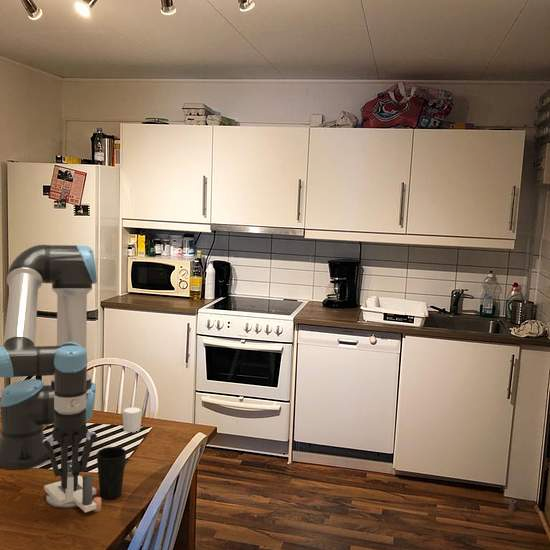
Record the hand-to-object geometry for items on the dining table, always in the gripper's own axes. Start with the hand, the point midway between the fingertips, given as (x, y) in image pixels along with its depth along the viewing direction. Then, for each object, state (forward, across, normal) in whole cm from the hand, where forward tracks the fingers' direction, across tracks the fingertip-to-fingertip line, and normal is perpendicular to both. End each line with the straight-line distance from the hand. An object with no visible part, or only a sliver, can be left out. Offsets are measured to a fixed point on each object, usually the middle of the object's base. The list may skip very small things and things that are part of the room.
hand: (69, 499), depth 151 cm
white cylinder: (+5, +30, +48) cm, 57 cm away
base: (+4, +2, +10) cm, 11 cm away
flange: (+3, +3, +6) cm, 7 cm away
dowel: (+4, +7, 0) cm, 8 cm away
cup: (+5, +12, +6) cm, 14 cm away
